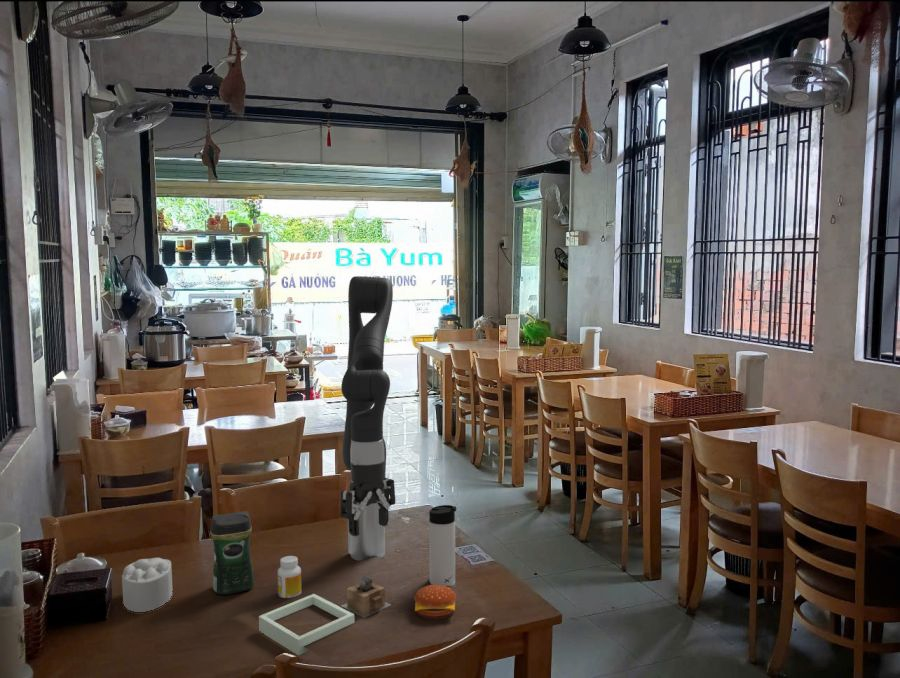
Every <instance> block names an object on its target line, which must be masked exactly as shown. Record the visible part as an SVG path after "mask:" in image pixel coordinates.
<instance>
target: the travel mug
mask: <svg viewBox="0 0 900 678" xmlns="http://www.w3.org/2000/svg"><path fill="white" fill-rule="evenodd" d="M456 511H457V506H454V505H450V504H442V505H437V506H434V507H432V508H431V509H430V510H429V514H428V516H429V519H428V532H429V533H428V540H429V541H428V545H429V546H428V547H429V548H428V551H429V552H428V553H429V554H428V555H429V560H428V561H429V562H428V563H429V566H428V567H429V572H428V573H429V576H428V577H429V583H430V585H443V586H446V587H451V588H455V587H456V518H455V516H456V515H455V513H456Z"/></svg>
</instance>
